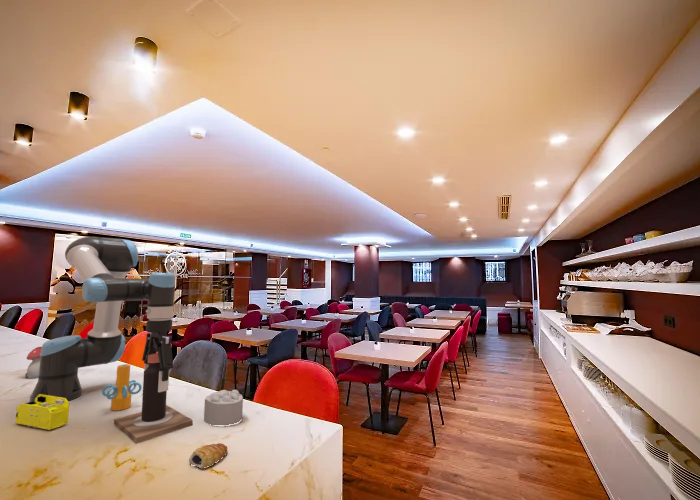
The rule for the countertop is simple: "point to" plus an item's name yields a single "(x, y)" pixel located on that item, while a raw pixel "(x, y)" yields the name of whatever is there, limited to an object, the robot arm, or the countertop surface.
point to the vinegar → (153, 392)
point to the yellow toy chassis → (43, 412)
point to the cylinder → (121, 389)
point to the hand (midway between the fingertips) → (155, 387)
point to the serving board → (151, 425)
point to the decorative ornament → (34, 363)
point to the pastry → (207, 455)
